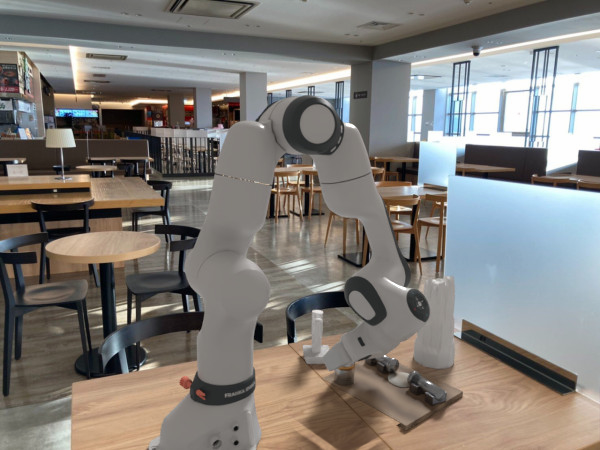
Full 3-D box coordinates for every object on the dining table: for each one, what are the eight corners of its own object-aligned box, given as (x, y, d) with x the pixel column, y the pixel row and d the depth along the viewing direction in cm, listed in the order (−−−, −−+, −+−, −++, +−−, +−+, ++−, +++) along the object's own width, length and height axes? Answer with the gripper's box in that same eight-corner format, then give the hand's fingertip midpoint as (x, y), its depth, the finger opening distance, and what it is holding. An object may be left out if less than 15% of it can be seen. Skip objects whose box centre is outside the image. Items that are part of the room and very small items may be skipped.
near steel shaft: (405, 388, 116) (406, 373, 116) (419, 384, 119) (420, 368, 118) (433, 406, 109) (434, 390, 108) (447, 401, 111) (448, 385, 110)
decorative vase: (406, 355, 137) (411, 270, 133) (435, 348, 142) (441, 266, 137) (431, 372, 127) (438, 281, 123) (462, 364, 132) (469, 276, 127)
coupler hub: (344, 388, 116) (345, 353, 115) (329, 380, 120) (330, 346, 118) (358, 381, 120) (360, 347, 118) (344, 373, 123) (345, 340, 122)
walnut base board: (405, 430, 102) (406, 424, 102) (321, 382, 121) (321, 377, 121) (462, 395, 116) (463, 390, 116) (378, 357, 135) (379, 352, 135)
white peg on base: (327, 355, 136) (329, 304, 133) (331, 371, 127) (332, 317, 124) (302, 355, 136) (303, 304, 133) (303, 371, 127) (304, 317, 124)
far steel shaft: (399, 372, 125) (400, 357, 124) (386, 376, 122) (387, 361, 122) (377, 358, 132) (377, 344, 131) (364, 361, 130) (364, 347, 129)
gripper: (397, 314, 118) (365, 339, 127) (337, 336, 105) (307, 361, 114) (411, 337, 116) (377, 360, 125) (352, 362, 103) (319, 386, 112)
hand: (343, 361), depth 119 cm, fingers open, 8 cm apart
